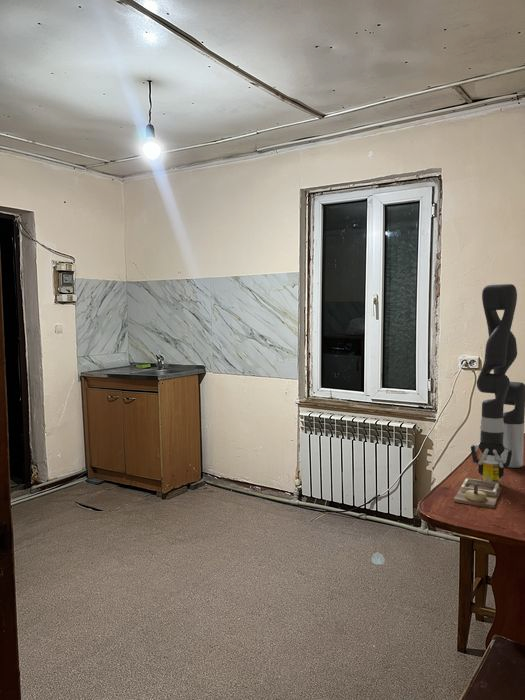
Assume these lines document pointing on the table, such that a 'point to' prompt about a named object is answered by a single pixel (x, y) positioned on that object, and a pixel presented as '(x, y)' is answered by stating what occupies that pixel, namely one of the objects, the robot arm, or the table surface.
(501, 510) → the table surface
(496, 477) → the supplement bottle
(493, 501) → the board
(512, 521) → the table surface
